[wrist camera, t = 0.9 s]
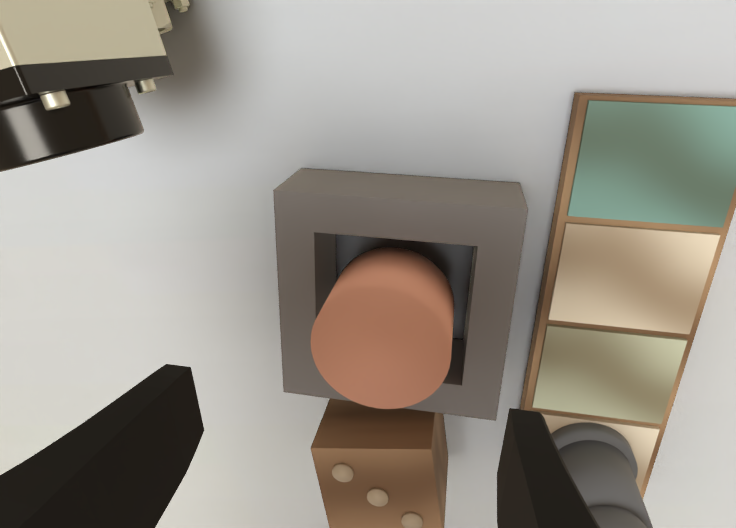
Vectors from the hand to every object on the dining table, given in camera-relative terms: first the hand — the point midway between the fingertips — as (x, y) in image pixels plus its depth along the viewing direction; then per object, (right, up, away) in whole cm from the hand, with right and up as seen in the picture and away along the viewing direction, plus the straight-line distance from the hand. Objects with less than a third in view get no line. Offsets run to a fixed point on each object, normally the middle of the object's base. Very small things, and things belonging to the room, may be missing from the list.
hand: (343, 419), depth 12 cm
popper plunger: (+2, +2, +9) cm, 9 cm away
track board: (+11, +1, +11) cm, 15 cm away
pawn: (+11, -5, +12) cm, 17 cm away
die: (+2, -4, +15) cm, 16 cm away
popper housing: (+2, +3, +12) cm, 12 cm away
